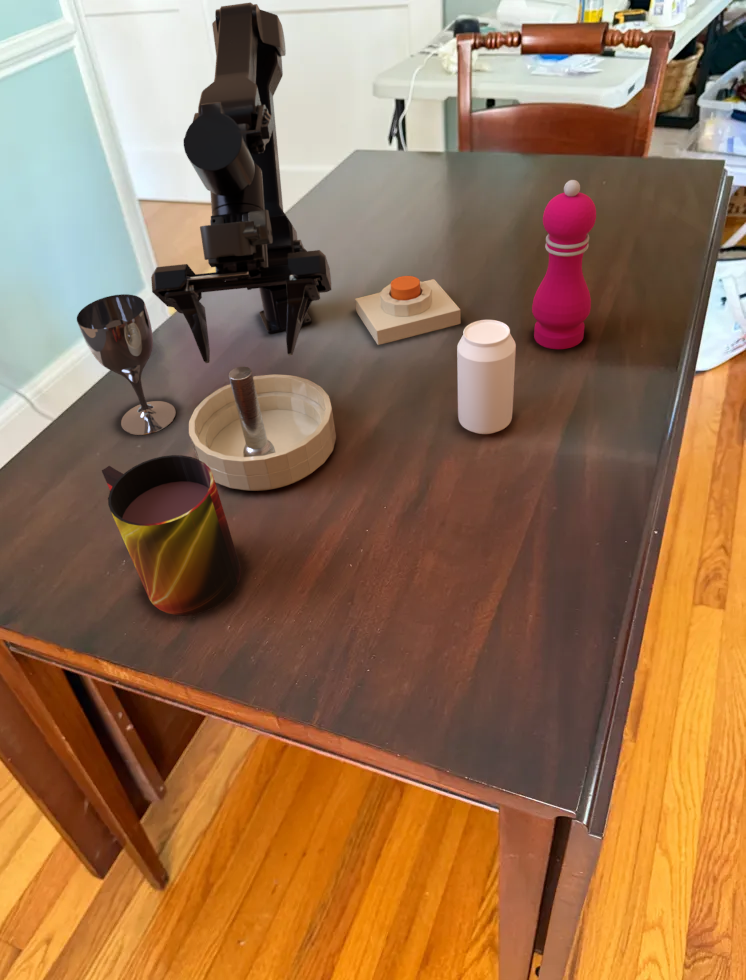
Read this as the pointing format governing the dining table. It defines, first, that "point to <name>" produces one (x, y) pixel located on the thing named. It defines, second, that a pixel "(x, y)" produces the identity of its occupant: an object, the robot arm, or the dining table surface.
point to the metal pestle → (249, 413)
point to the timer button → (405, 288)
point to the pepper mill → (564, 270)
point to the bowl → (288, 425)
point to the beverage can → (485, 376)
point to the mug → (175, 532)
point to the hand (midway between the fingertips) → (248, 358)
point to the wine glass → (125, 353)
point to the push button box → (407, 313)
